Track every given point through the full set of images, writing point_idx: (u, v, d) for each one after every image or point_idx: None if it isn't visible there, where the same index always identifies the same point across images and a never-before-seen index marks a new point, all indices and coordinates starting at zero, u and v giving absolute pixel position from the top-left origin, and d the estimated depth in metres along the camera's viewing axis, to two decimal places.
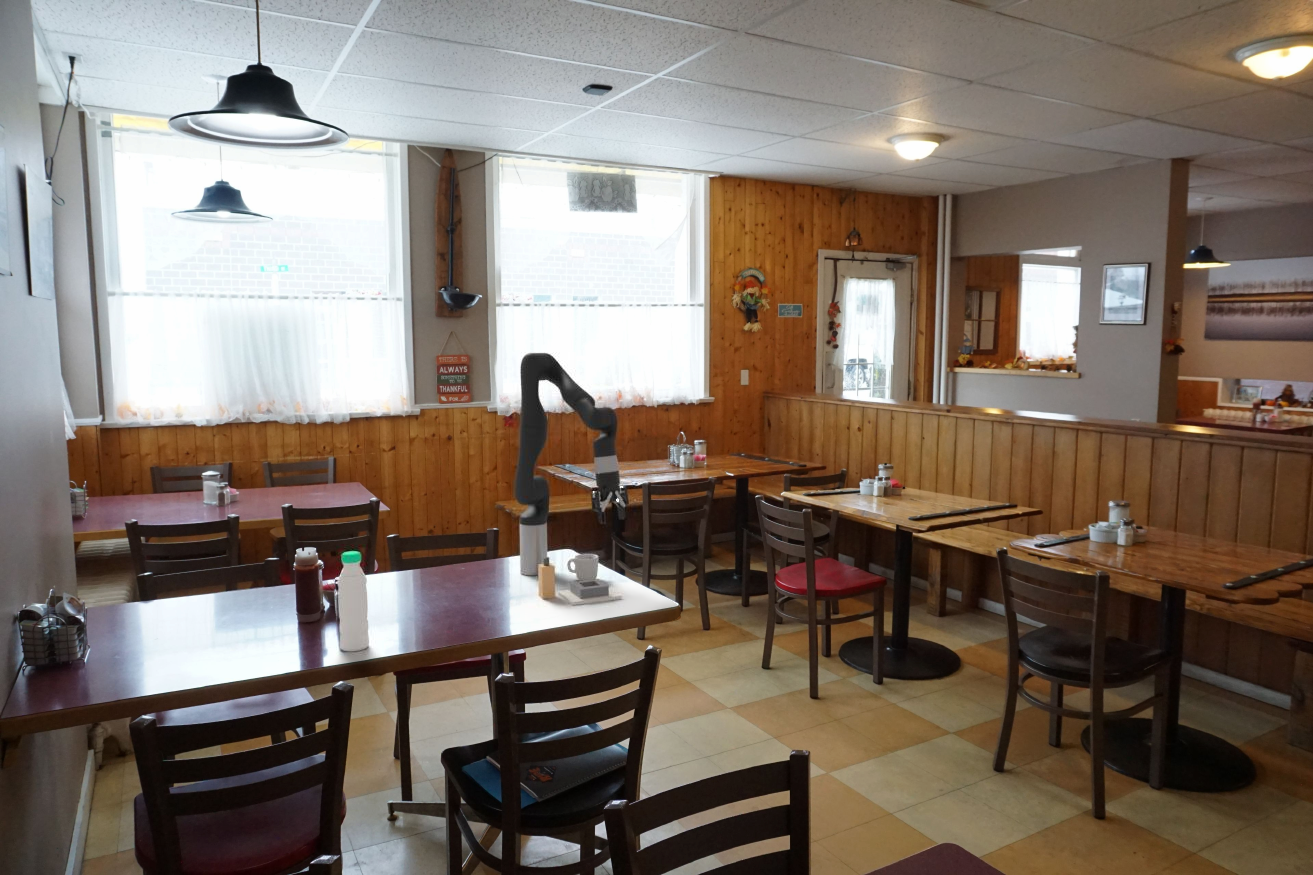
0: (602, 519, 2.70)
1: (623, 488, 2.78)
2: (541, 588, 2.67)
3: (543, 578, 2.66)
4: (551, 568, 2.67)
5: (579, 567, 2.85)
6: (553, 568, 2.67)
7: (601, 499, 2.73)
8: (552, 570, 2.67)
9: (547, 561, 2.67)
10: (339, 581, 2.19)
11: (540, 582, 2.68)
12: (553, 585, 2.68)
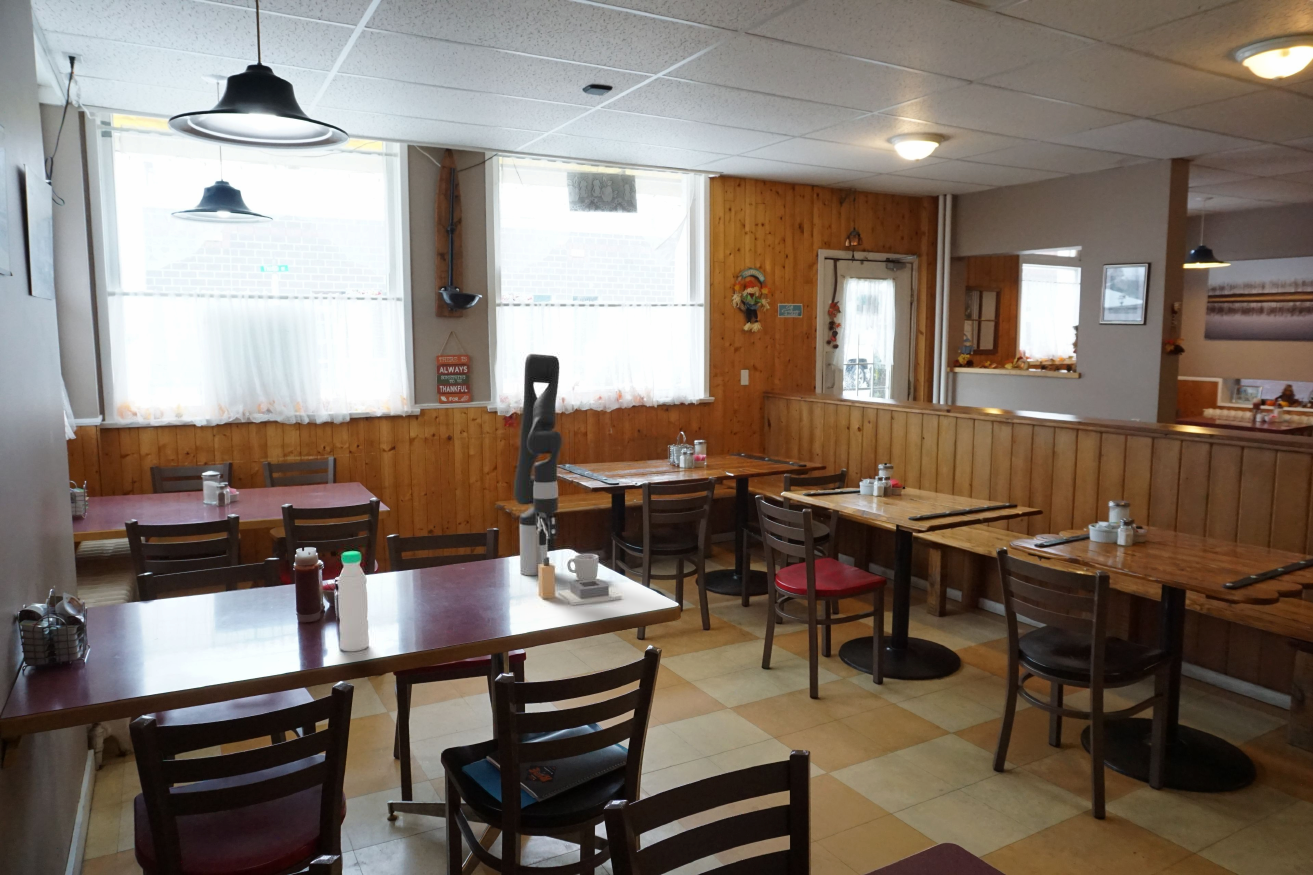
0: None
1: None
2: (541, 588, 2.67)
3: (543, 578, 2.66)
4: (551, 568, 2.67)
5: (579, 567, 2.85)
6: (553, 568, 2.67)
7: None
8: (552, 570, 2.67)
9: (547, 561, 2.67)
10: (339, 581, 2.19)
11: (540, 582, 2.68)
12: (553, 585, 2.68)
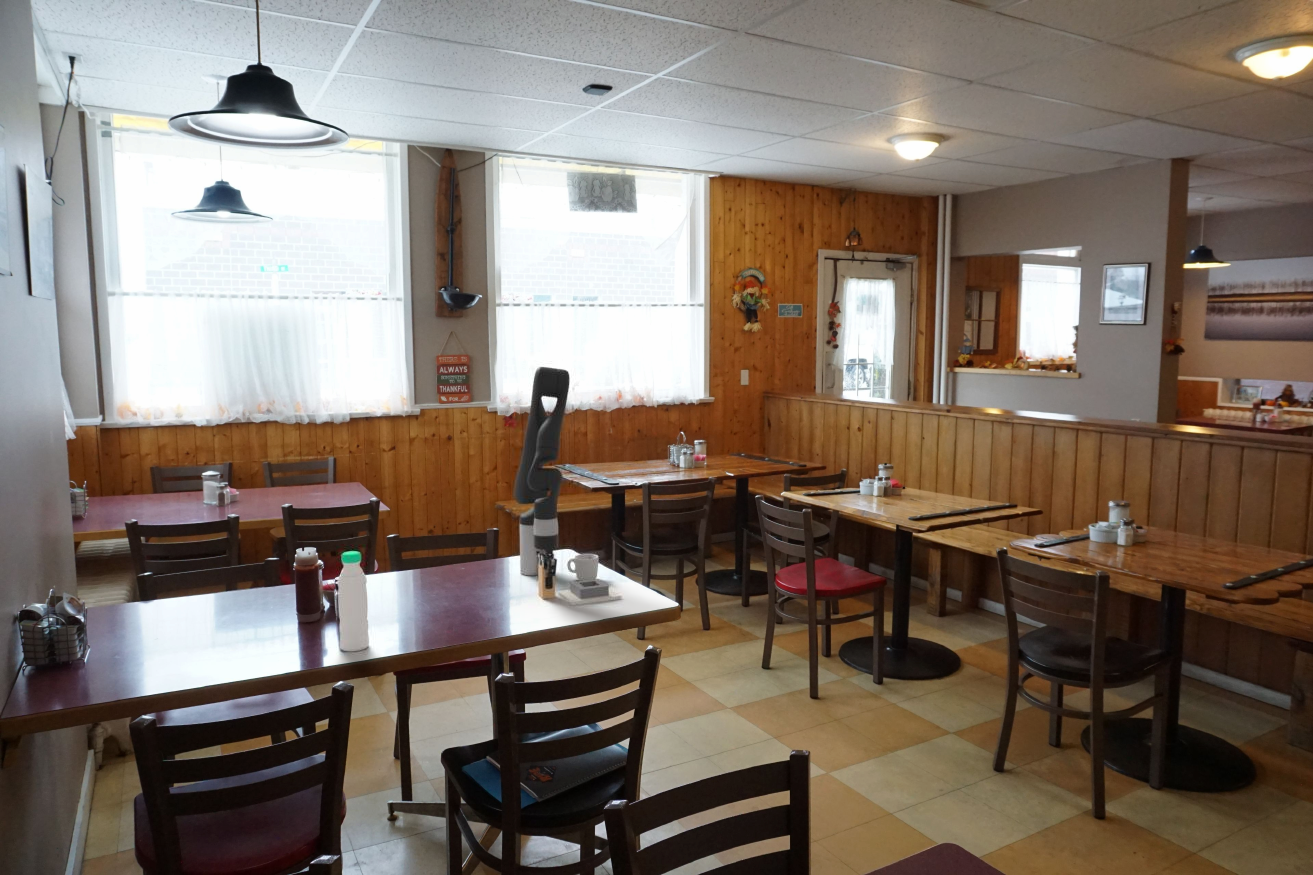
0: None
1: None
2: (541, 588, 2.67)
3: (543, 578, 2.66)
4: None
5: (579, 567, 2.85)
6: None
7: None
8: None
9: None
10: (339, 581, 2.19)
11: (540, 582, 2.68)
12: (553, 585, 2.68)
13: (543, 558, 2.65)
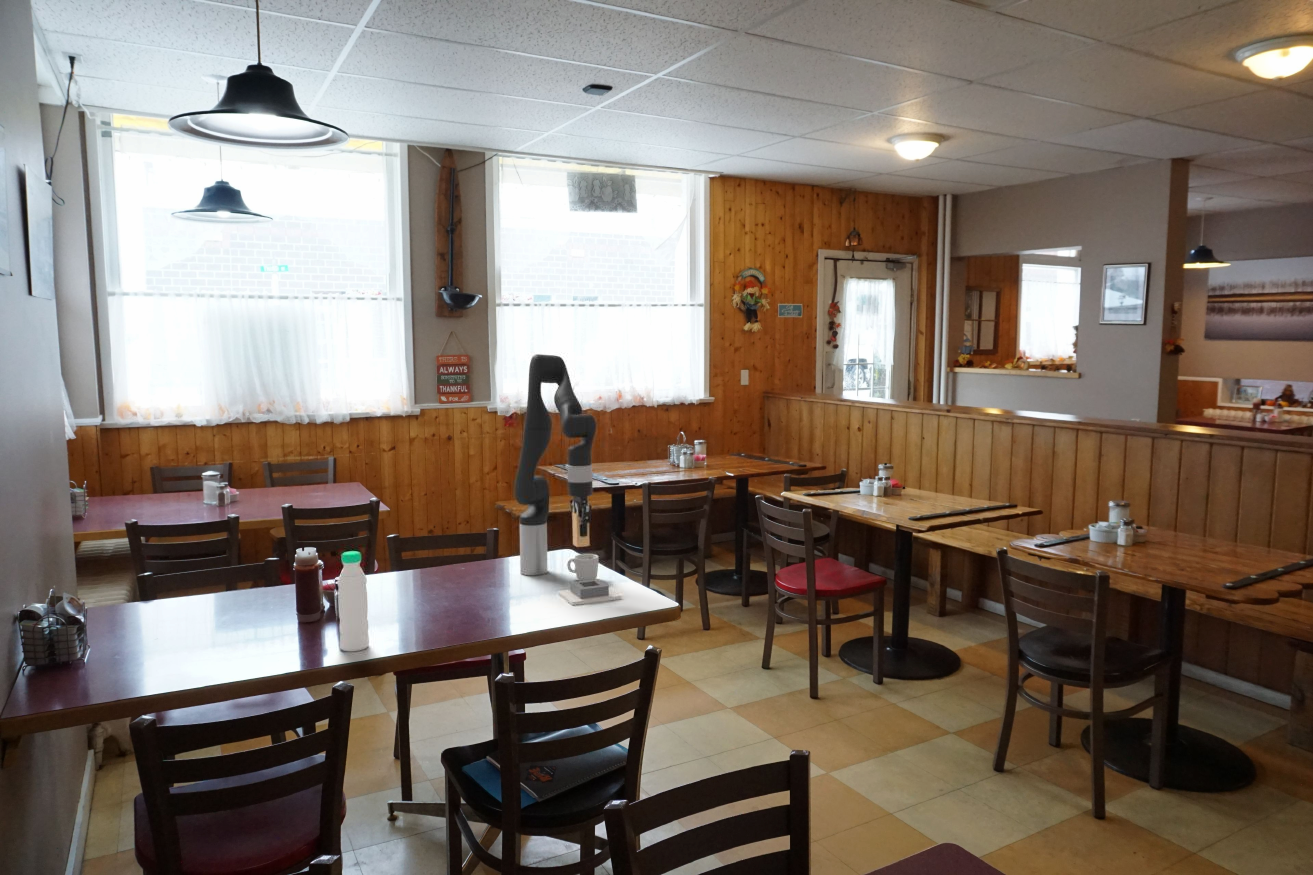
0: None
1: None
2: (575, 536, 2.65)
3: (577, 526, 2.64)
4: None
5: (579, 567, 2.85)
6: None
7: None
8: None
9: None
10: (339, 581, 2.19)
11: (574, 530, 2.66)
12: (587, 533, 2.66)
13: (577, 505, 2.64)
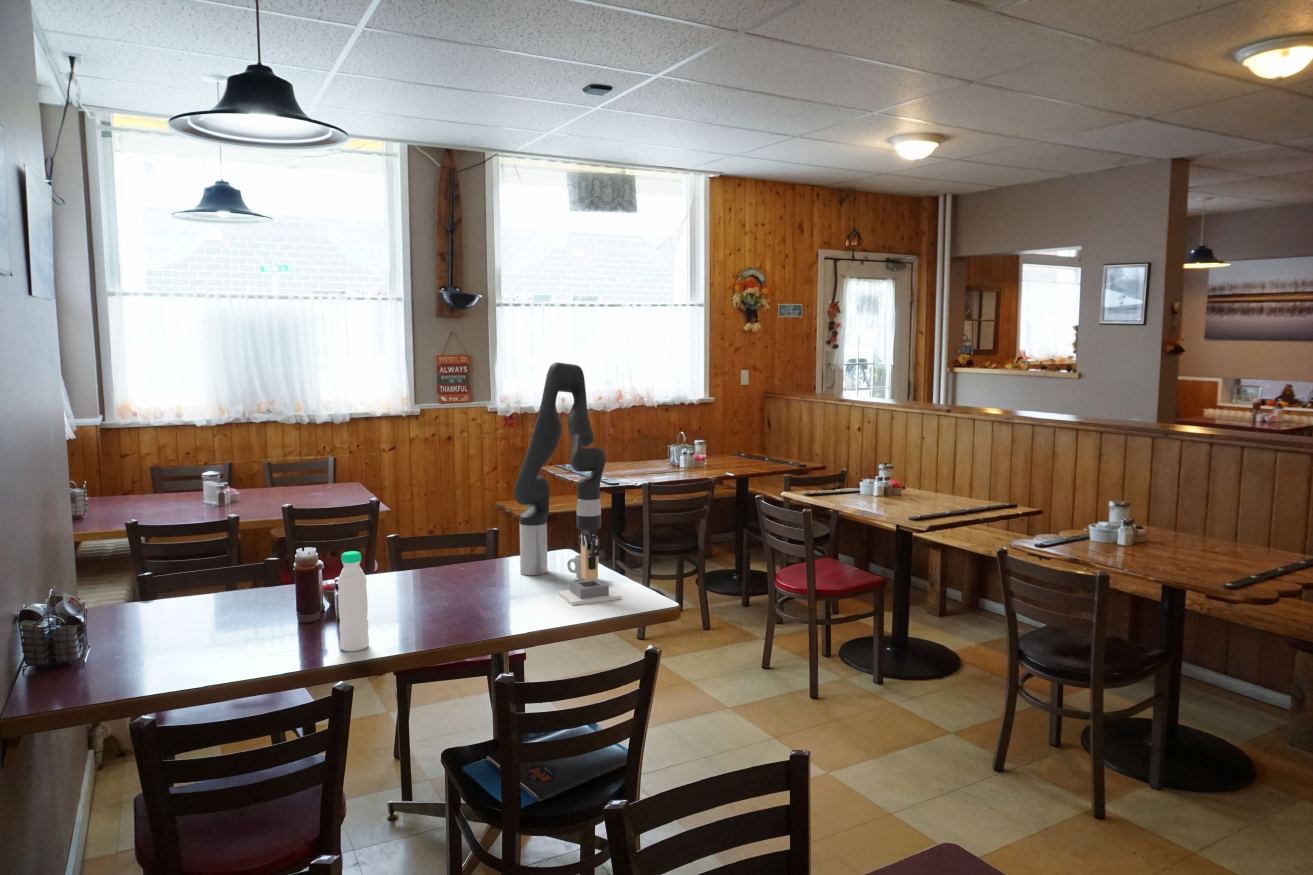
0: None
1: None
2: (584, 569, 2.67)
3: (586, 559, 2.66)
4: None
5: (579, 567, 2.85)
6: None
7: None
8: None
9: None
10: (339, 581, 2.19)
11: (583, 563, 2.67)
12: (596, 566, 2.67)
13: (586, 539, 2.65)
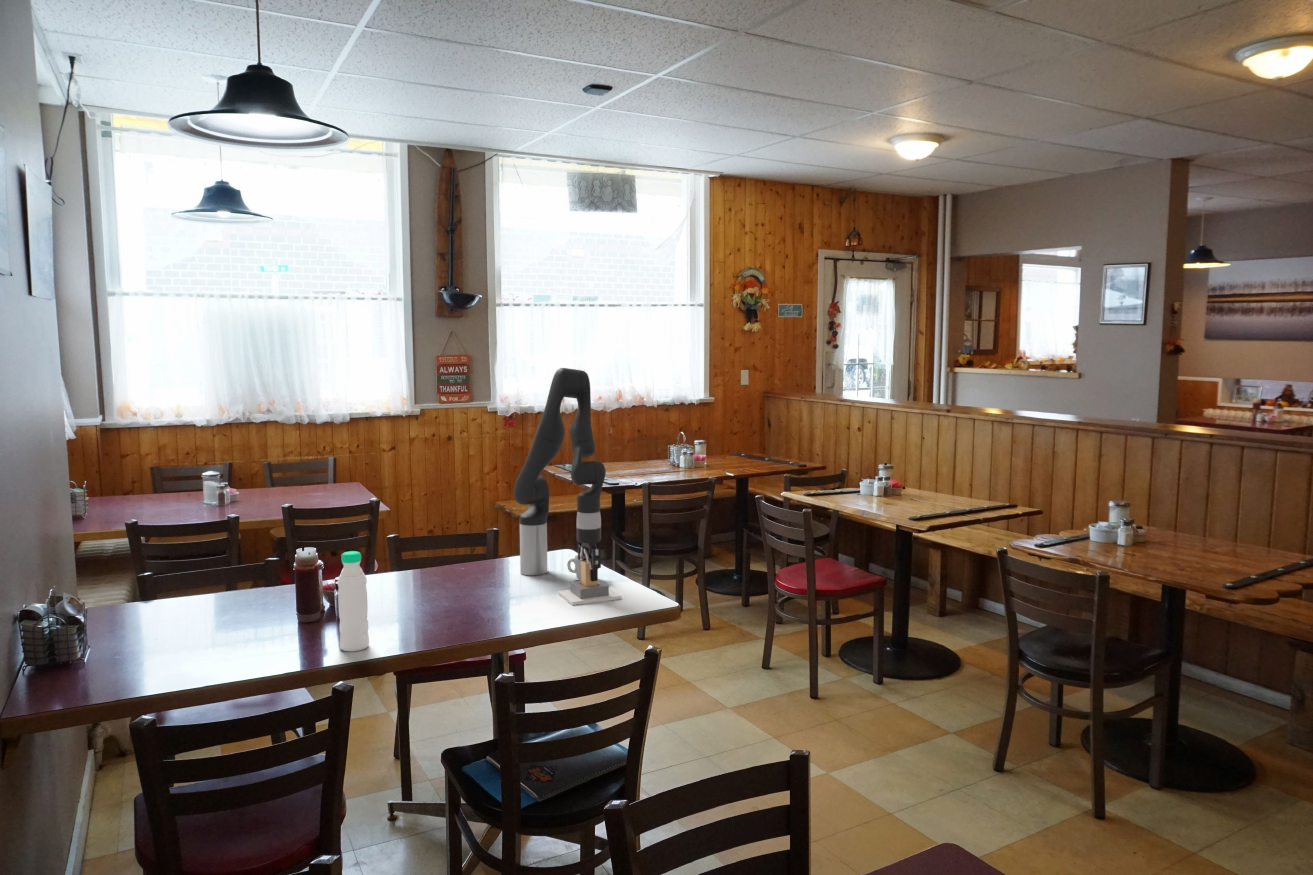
0: None
1: None
2: (584, 585, 2.67)
3: (586, 575, 2.66)
4: None
5: (579, 567, 2.85)
6: None
7: None
8: None
9: None
10: (339, 581, 2.19)
11: (583, 579, 2.68)
12: (596, 582, 2.68)
13: (586, 551, 2.65)
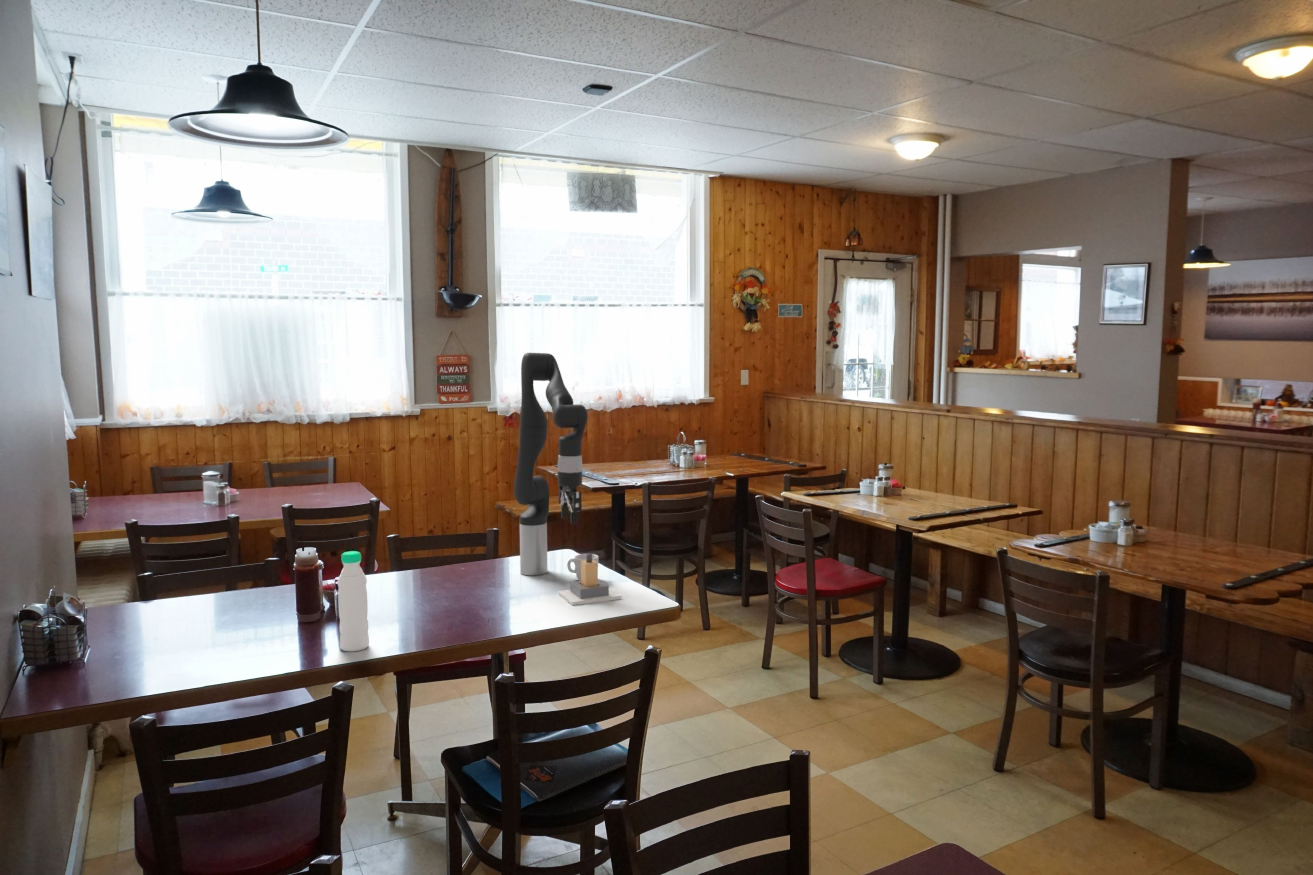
0: None
1: None
2: (584, 585, 2.67)
3: (586, 575, 2.66)
4: (595, 565, 2.67)
5: (579, 567, 2.85)
6: (596, 565, 2.67)
7: None
8: (595, 567, 2.67)
9: (590, 558, 2.67)
10: (339, 581, 2.19)
11: (583, 579, 2.68)
12: (596, 582, 2.68)
13: (567, 494, 2.65)
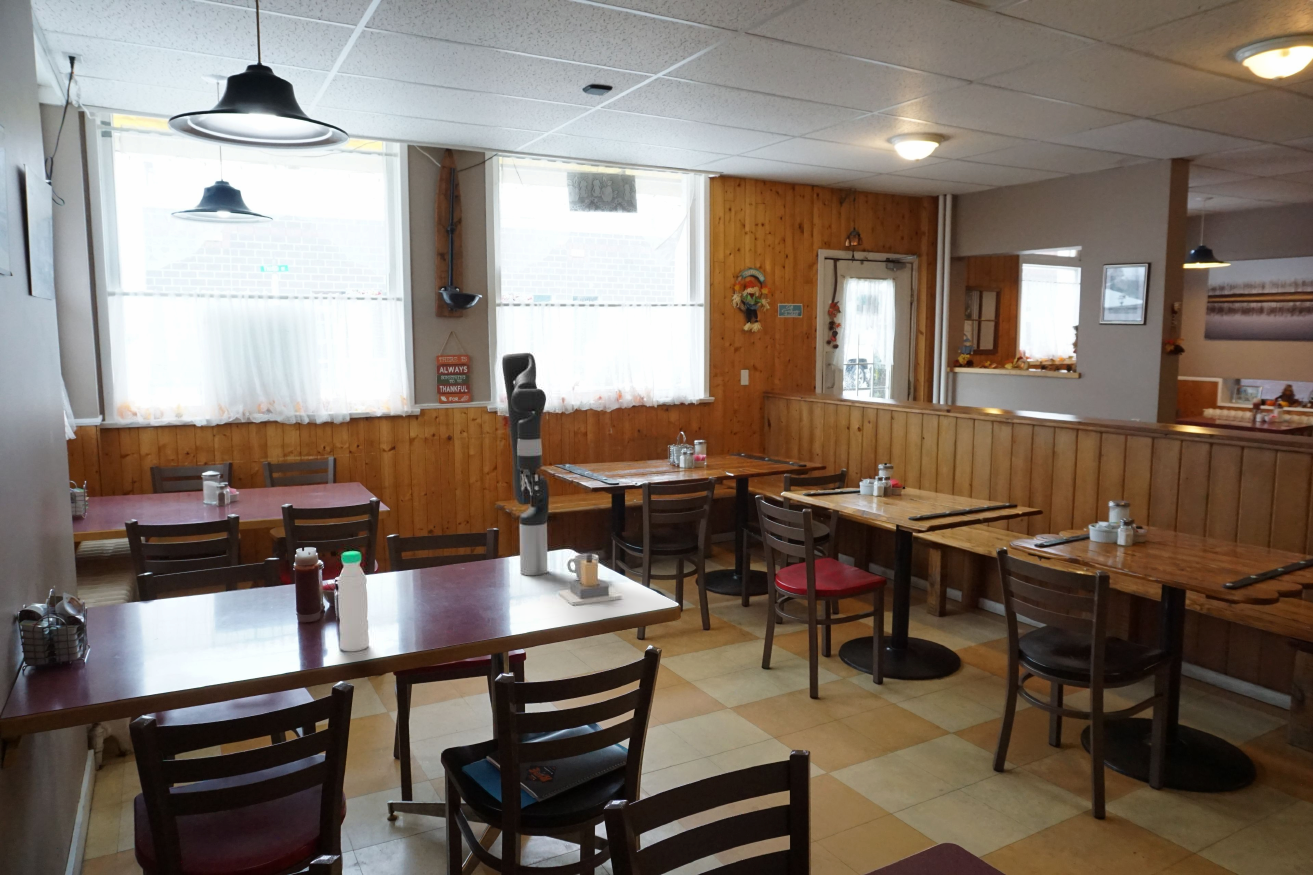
0: None
1: None
2: (584, 585, 2.67)
3: (586, 575, 2.66)
4: (595, 565, 2.67)
5: (579, 567, 2.85)
6: (596, 565, 2.67)
7: None
8: (595, 567, 2.67)
9: (590, 558, 2.67)
10: (339, 581, 2.19)
11: (583, 579, 2.68)
12: (596, 582, 2.68)
13: (527, 477, 2.67)
